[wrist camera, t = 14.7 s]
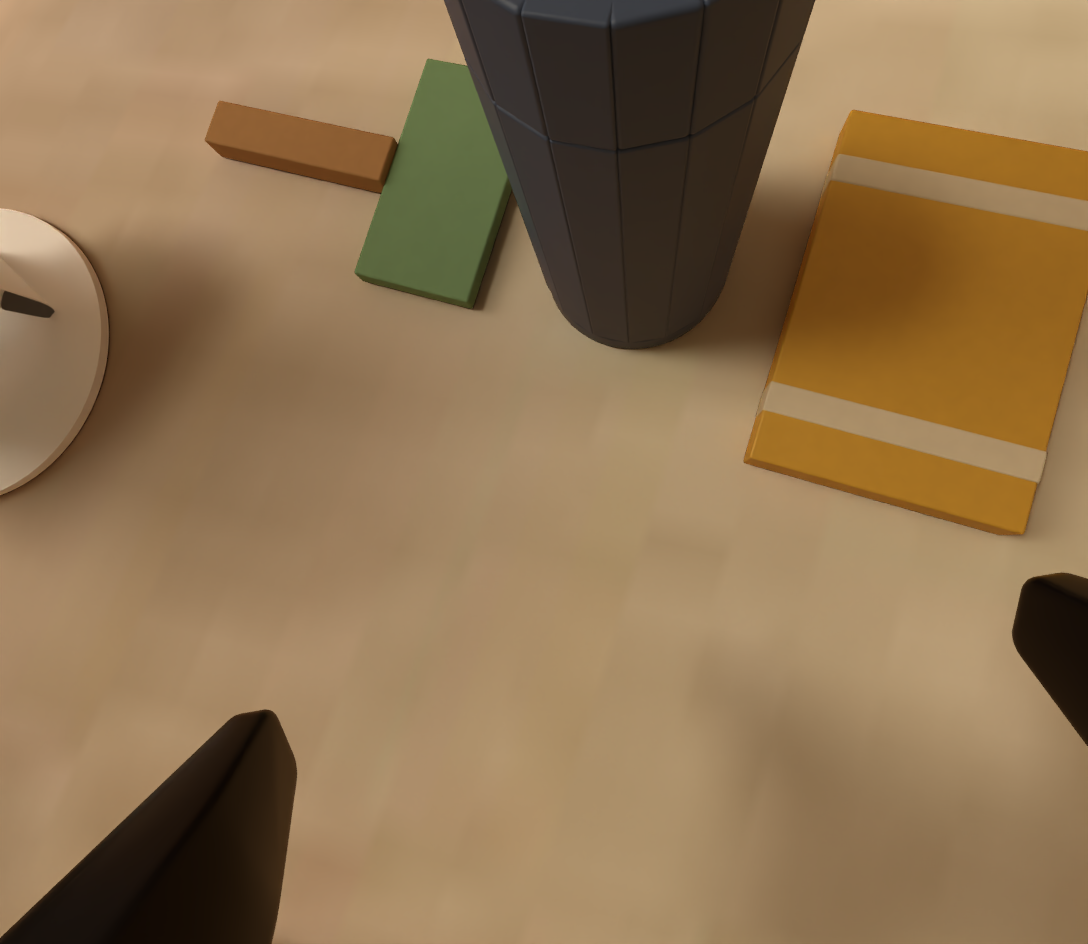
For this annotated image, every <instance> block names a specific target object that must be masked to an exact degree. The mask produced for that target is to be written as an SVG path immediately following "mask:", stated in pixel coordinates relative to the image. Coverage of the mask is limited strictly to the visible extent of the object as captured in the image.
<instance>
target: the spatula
mask: <svg viewBox="0 0 1088 944" xmlns="http://www.w3.org/2000/svg"><path fill="white" fill-rule="evenodd" d="M205 141H206V142H207V143H208V144H209V145H210V146H211V147H212V148H213V149H214V150H215V151H216V152H218V153H219V154H220V155H221V156H222V157H226V158H230V159H235V160H239V161H243V162H248V163H252V164H256V165H261V166H265V167H270V168H274V169H278V170H283V171H287V172H291V173H296V174H300V175H304V176H309V177H313V178H317V179H322V180H326V181H330V182H335V183H339V184H343V185H348V186H352V187H356V188H361V189H365V190H369V191H374V192H378V193H381V196H380V199H379V202H378V205H377V208H376V210H375V213H374V216H373V219H372V222H371V225H370V228H369V231H368V234H367V237H366V240H365V243H364V246H363V248H362V251H361V254H360V257H359V260H358V263H357V266H356V269H355V274H356V275H357V276H358V277H359V278H360V279H361V280H363V281H366V282H369V283H373V284H377V285H381V286H385V287H389V288H392V289H396V290H400V291H404V292H408V293H412V294H416V295H419V296H423V297H427V298H431V299H435V300H439V301H443V302H446V303H450V304H454V305H458V306H462V307H466V308H470V309H472V308H473V306H474V303H475V300H476V297H477V294H478V291H479V288H480V285H481V282H482V278H483V275H484V272H485V269H486V266H487V263H488V260H489V257H490V254H491V251H492V248H493V245H494V242H495V239H496V236H497V233H498V230H499V227H500V224H501V221H502V217H503V214H504V211H505V208H506V205H507V202H508V199H509V196H510V193H511V190H512V187H511V184H510V182H509V179H508V176H507V173H506V171H505V168H504V165H503V162H502V160H501V157H500V154H499V151H498V148H497V146H496V143H495V140H494V137H493V135H492V132H491V129H490V126H489V124H488V121H487V118H486V115H485V113H484V110H483V107H482V104H481V102H480V99H479V96H478V93H477V91H476V88H475V85H474V82H473V80H472V77H471V74H470V71H469V69H468V66H465V65H460V64H454V63H449V62H443V61H438V60H433V59H427V61H426V64H425V67H424V70H423V73H422V76H421V79H420V82H419V85H418V88H417V90H416V93H415V96H414V99H413V102H412V105H411V108H410V111H409V114H408V117H407V120H406V123H405V126H404V129H403V131H402V134H401V137H400V140H399V143H398V144H397V142H396V141H395V139H394V138H393V137H388V136H384V135H379V134H374V133H369V132H365V131H360V130H355V129H351V128H346V127H341V126H336V125H332V124H327V123H322V122H318V121H313V120H308V119H303V118H299V117H294V116H289V115H285V114H280V113H275V112H271V111H266V110H261V109H256V108H252V107H247V106H242V105H238V104H233V103H228V102H223V101H219V102H218V104H217V107H216V110H215V113H214V115H213V118H212V121H211V124H210V126H209V129H208V132H207V135H206V138H205Z"/></svg>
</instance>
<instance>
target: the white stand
mask: <svg viewBox="0 0 1088 944" xmlns="http://www.w3.org/2000/svg"><path fill="white" fill-rule="evenodd" d="M108 343H109V324H108V314H107V307H106V302H105V298H104V294H103V291H102V288H101V285H100V282H99V280H98V277H97V275H96V273H95V271H94V269H93V267H92V265H91V264H90V262H89V261H88V259H87V258H86V256H85V255H84V253H83V252H82V251H81V250H80V248H79V247H78V246H77V245H76V244H75V243H74V242H73V241H72V240H71V239H70V238H69V237H68V236H66V235H65V234H64V233H62V232H61V231H60V230H58V229H57V228H55V227H53V226H52V225H50V224H48V223H46V222H44V221H43V220H40V219H38V218H36V217H34V216H32V215H29V214H26V213H23V212H19V211H15V210H10V209H0V495H2V494H5V493H7V492H10V491H12V490H14V489H16V488H18V487H20V486H22V485H24V484H25V483H27V482H28V481H30V480H31V479H33V478H34V477H36V476H37V475H39V474H40V473H41V472H42V471H44V470H45V469H46V468H47V467H49V466H50V465H51V464H52V463H53V462H54V461H55V460H56V459H57V458H58V457H59V456H60V455H61V454H62V453H63V451H64V450H65V449H66V448H67V447H68V446H69V445H70V443H71V442H72V440H73V439H74V438H75V436H76V435H77V434H78V432H79V431H80V429H81V427H82V426H83V424H84V422H85V421H86V419H87V417H88V415H89V413H90V411H91V409H92V407H93V405H94V402H95V400H96V398H97V395H98V392H99V389H100V386H101V383H102V380H103V376H104V372H105V367H106V362H107V355H108Z"/></svg>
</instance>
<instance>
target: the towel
mask: <svg viewBox="0 0 1088 944" xmlns="http://www.w3.org/2000/svg"><path fill="white" fill-rule="evenodd" d="M1087 293H1088V152H1087V151H1082V150H1076V149H1071V148H1065V147H1059V146H1054V145H1048V144H1042V143H1037V142H1031V141H1026V140H1020V139H1014V138H1009V137H1003V136H998V135H992V134H986V133H981V132H975V131H970V130H964V129H958V128H953V127H947V126H941V125H936V124H930V123H925V122H919V121H913V120H908V119H902V118H897V117H891V116H885V115H880V114H874V113H868V112H863V111H857V110H852V111H851V112H850V114H849V116H848V118H847V120H846V122H845V124H844V126H843V128H842V130H841V132H840V134H839V138H838V141H837V144H836V148H835V151H834V155H833V158H832V161H831V165H830V168H829V172H828V175H827V176H826V180H825V183H824V186H823V190H822V193H821V197H820V202H819V206H818V209H817V212H816V216H815V219H814V223H813V226H812V229H811V233H810V236H809V240H808V243H807V246H806V250H805V253H804V257H803V260H802V263H801V267H800V270H799V273H798V277H797V280H796V284H795V287H794V290H793V294H792V297H791V301H790V304H789V307H788V311H787V314H786V318H785V321H784V324H783V328H782V331H781V335H780V338H779V341H778V345H777V348H776V352H775V355H774V358H773V362H772V365H771V369H770V372H769V375H768V379H767V382H766V386H765V389H764V391H763V393H762V397H761V400H760V403H759V407H758V410H757V413H756V420H755V423H754V426H753V430H752V433H751V437H750V440H749V443H748V447H747V450H746V454H745V457H744V463H746V464H750V465H753V466H757V467H761V468H764V469H768V470H771V471H775V472H778V473H782V474H785V475H789V476H792V477H796V478H799V479H803V480H807V481H810V482H814V483H817V484H821V485H824V486H828V487H831V488H835V489H838V490H842V491H845V492H849V493H852V494H856V495H860V496H863V497H867V498H870V499H874V500H877V501H881V502H884V503H888V504H891V505H895V506H898V507H902V508H906V509H909V510H913V511H916V512H920V513H923V514H927V515H930V516H934V517H937V518H941V519H944V520H948V521H951V522H955V523H959V524H962V525H966V526H969V527H973V528H976V529H980V530H983V531H987V532H990V533H994V534H997V535H1015V534H1024V532H1025V529H1026V525H1027V522H1028V518H1029V514H1030V510H1031V506H1032V502H1033V499H1034V495H1035V491H1036V487H1037V483H1040V480H1041V477H1042V473H1043V469H1044V465H1045V461H1046V457H1047V454H1048V453H1047V452H1046V449H1047V445H1048V442H1049V438H1050V434H1051V430H1052V426H1053V423H1054V419H1055V415H1056V411H1057V407H1058V404H1059V400H1060V396H1061V392H1062V388H1063V385H1064V381H1065V377H1066V373H1067V369H1068V366H1069V362H1070V358H1071V354H1072V350H1073V347H1074V343H1075V339H1076V335H1077V331H1078V328H1079V324H1080V320H1081V316H1082V312H1083V309H1084V305H1085V301H1086V297H1087Z"/></svg>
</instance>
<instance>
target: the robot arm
mask: <svg viewBox="0 0 1088 944" xmlns="http://www.w3.org/2000/svg"><path fill="white" fill-rule="evenodd" d="M1012 637H1013V642H1014V645H1015V647H1016V649H1017V651H1018V653H1019V654H1020V656H1021V657H1022V659H1023V660H1024V661H1025V663H1026V664H1027V665H1028V667H1029V668H1030V669H1031V671H1032V672H1033V673H1034V675H1035V676H1036V677H1037V679H1038V680H1039V681H1040V683H1041V684H1042V686H1043V687H1044V688H1045V690H1046V691H1047V692H1048V694H1049V695H1050V696H1051V698H1052V699H1053V700H1054V702H1055V703H1056V704H1057V706H1058V707H1059V708H1060V710H1061V711H1062V712H1063V714H1064V715H1065V717H1066V718H1067V719H1068V721H1069V722H1070V723H1071V725H1072V726H1073V727H1074V729H1075V730H1076V731H1077V733H1078V734H1079V735H1080V737H1081V738H1082V739H1083V741H1084V742H1085V744H1086V745H1087V746H1088V579H1086V578H1083V577H1080V576H1077V575H1073V574H1069V573H1055V574H1049V575H1043V576H1037V577H1033V578H1030V579H1028V580H1027V581H1026V582H1025V583H1024V585H1023V587H1022V589H1021V594H1020V598H1019V602H1018V607H1017V611H1016V616H1015V620H1014V625H1013V629H1012ZM296 780H297V767H296V761H295V757H294V755H293V752H292V750H291V748H290V745H289V743H288V740H287V738H286V736H285V733H284V731H283V729H282V726H281V724H280V722H279V719H278V718H277V716H276V714H275V713H274V712H273V711H271V710H259V711H254V712H248V713H242V714H238V715H235V716H234V717H232V718H231V719H230V720H229V721H227V722H226V723H225V724H224V725H223V726H222V727H221V728H220V729H219V730H218V731H217V732H216V733H215V734H214V735H213V736H212V737H211V738H210V739H208V740H207V741H206V742H205V743H204V744H203V745H202V746H201V747H200V748H199V749H198V750H197V751H196V752H195V753H194V754H193V755H192V756H191V757H190V758H189V759H187V760H186V761H185V762H184V763H183V764H182V765H181V766H180V767H179V768H178V769H177V770H176V771H175V772H174V773H173V774H172V775H171V776H170V777H169V778H168V779H167V780H165V781H164V782H163V783H162V784H161V785H160V786H159V787H158V788H157V789H156V790H155V791H154V792H153V793H152V794H151V795H150V796H149V797H148V798H147V799H146V800H144V801H143V802H142V803H141V804H140V805H139V806H138V807H137V808H136V809H135V810H134V811H133V812H132V813H131V814H130V815H129V816H128V817H127V818H126V819H125V820H123V821H122V822H121V823H120V824H119V825H118V826H117V827H116V828H115V829H114V830H113V831H112V832H111V833H110V834H109V835H108V836H107V837H106V838H105V839H104V840H102V841H101V842H100V843H99V844H98V845H97V846H96V847H95V848H94V849H93V850H92V851H91V852H90V853H89V854H88V855H87V856H86V857H85V858H84V859H83V860H81V861H80V862H79V863H78V864H77V865H76V866H75V867H74V868H73V869H72V870H71V871H70V872H69V873H68V874H67V875H66V876H65V877H64V878H63V879H62V880H61V881H59V882H58V883H57V884H56V885H55V886H54V887H53V888H52V889H51V890H50V891H49V892H48V893H47V894H46V895H45V896H44V897H43V898H42V899H41V900H40V901H38V902H37V903H36V904H35V905H34V906H33V907H32V908H31V909H30V910H29V911H28V912H27V913H26V914H25V915H24V916H23V917H22V918H21V919H20V920H19V921H17V922H16V923H15V924H14V925H13V926H12V927H11V928H10V929H9V930H8V931H7V932H6V933H5V934H4V935H3V936H2V937H1V938H0V944H272V939H273V935H274V930H275V926H276V921H277V915H278V909H279V903H280V897H281V890H282V882H283V875H284V868H285V861H286V853H287V846H288V839H289V832H290V824H291V817H292V810H293V803H294V795H295V788H296Z"/></svg>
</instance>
